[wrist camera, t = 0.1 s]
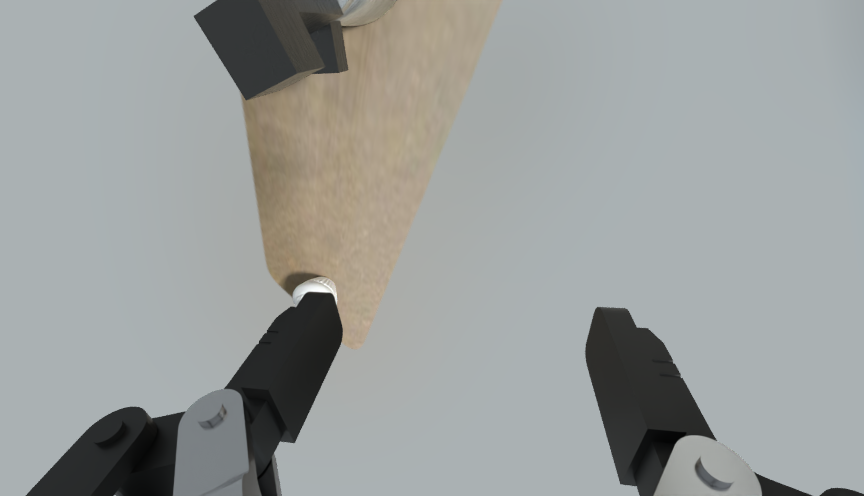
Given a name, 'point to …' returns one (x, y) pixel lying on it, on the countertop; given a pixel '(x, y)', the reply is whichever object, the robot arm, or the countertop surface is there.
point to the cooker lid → (268, 39)
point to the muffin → (314, 288)
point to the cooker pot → (329, 39)
